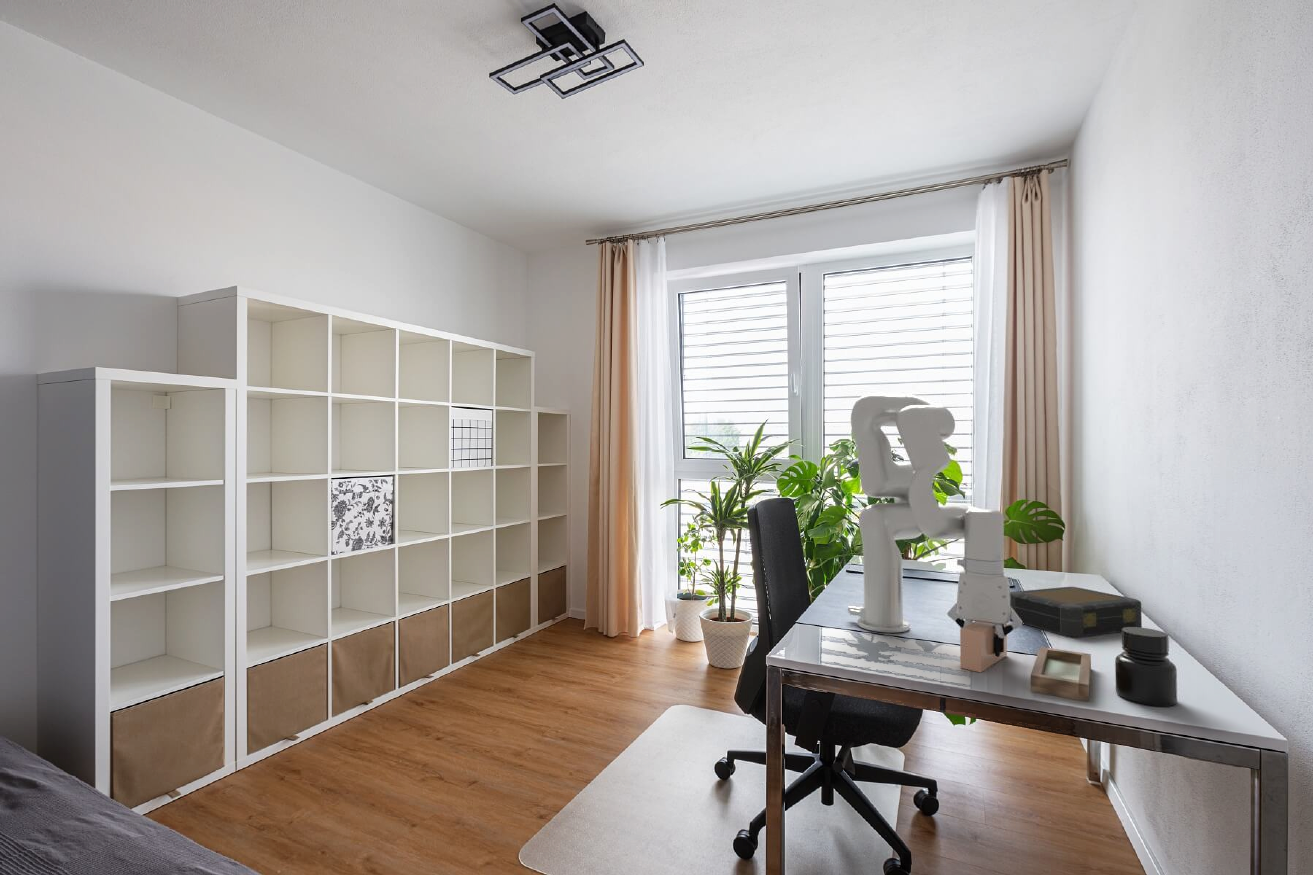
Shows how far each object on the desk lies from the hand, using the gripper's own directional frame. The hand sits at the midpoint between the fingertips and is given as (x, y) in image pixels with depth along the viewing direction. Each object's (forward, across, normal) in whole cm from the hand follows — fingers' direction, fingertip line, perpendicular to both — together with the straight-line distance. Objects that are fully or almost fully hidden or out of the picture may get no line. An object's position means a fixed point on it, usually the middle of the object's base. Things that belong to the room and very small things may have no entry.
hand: (984, 651), depth 138 cm
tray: (+2, +14, -3) cm, 15 cm away
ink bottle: (+2, +27, -6) cm, 28 cm away
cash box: (+3, +14, +48) cm, 50 cm away
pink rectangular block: (+2, 0, 0) cm, 2 cm away
